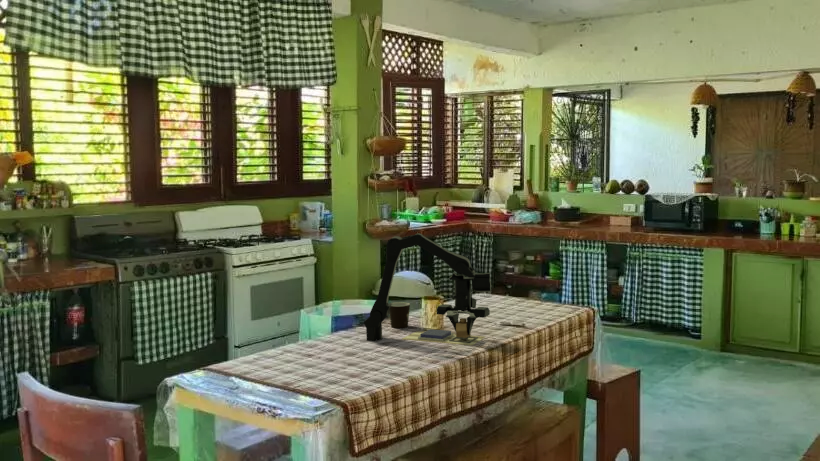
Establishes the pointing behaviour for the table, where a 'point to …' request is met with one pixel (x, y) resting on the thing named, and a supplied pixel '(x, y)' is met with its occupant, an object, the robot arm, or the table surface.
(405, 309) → the coffee mug
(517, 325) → the table surface
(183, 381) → the table surface
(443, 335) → the ink pad
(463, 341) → the station board
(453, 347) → the table surface
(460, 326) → the stamp
